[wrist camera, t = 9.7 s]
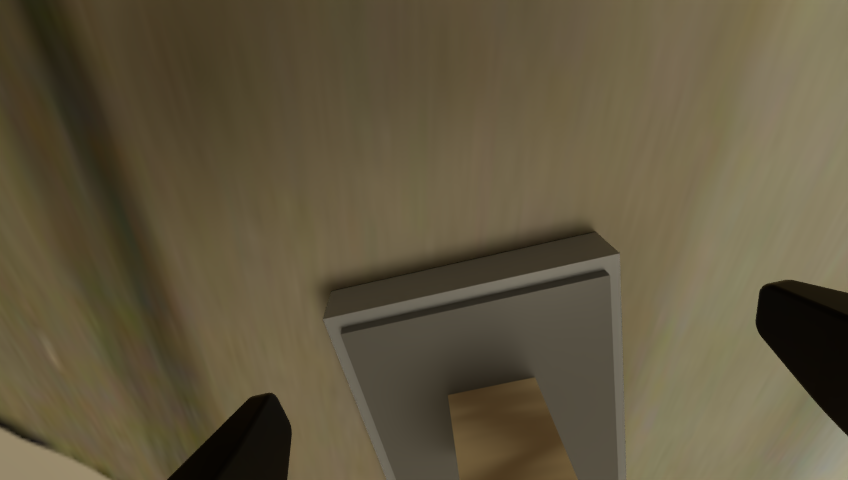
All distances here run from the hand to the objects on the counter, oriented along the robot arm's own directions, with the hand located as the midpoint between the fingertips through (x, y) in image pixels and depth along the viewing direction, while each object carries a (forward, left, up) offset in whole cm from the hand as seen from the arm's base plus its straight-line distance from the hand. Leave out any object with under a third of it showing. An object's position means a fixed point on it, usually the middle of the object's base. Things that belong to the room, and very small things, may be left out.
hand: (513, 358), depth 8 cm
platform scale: (0, +13, -13) cm, 18 cm away
